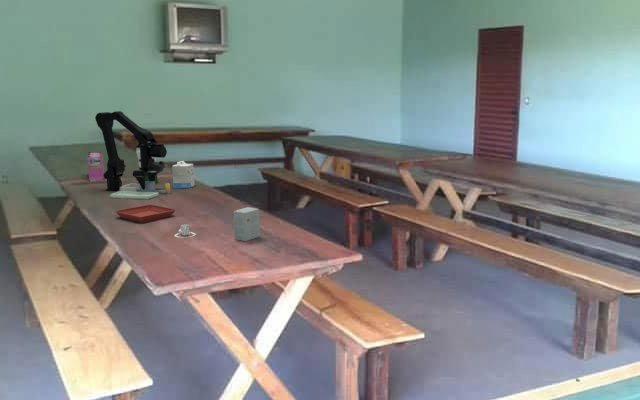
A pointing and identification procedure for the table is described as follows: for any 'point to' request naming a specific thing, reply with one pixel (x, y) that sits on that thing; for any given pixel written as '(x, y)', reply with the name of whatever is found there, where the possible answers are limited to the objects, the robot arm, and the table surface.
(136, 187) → the frame
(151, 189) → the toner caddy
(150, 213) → the plant saucer
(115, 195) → the tray
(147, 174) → the milk carton
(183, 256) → the table surface
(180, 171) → the ink box
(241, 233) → the small box
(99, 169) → the pink product box
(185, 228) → the charger with coiled cable
